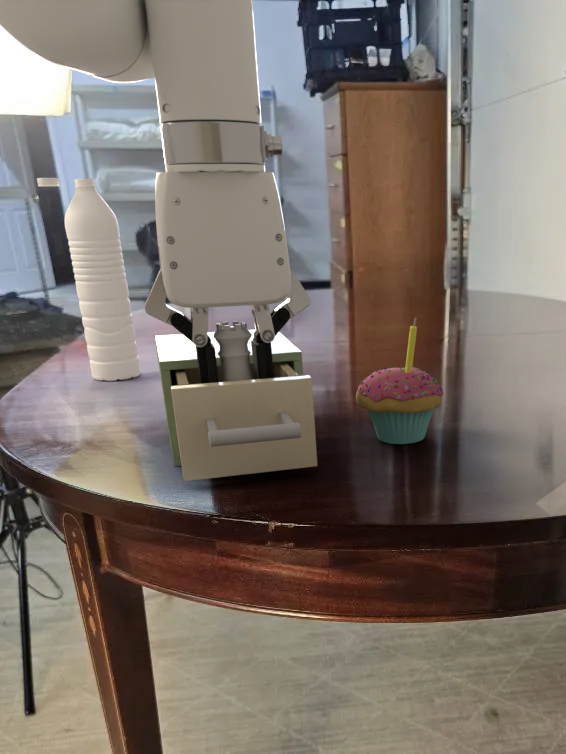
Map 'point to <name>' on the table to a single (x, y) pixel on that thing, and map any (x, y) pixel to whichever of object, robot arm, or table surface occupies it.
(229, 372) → the rook chess piece
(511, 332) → the table surface
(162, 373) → the cabinet
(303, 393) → the drawer
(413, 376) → the cupcake
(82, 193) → the water bottle
